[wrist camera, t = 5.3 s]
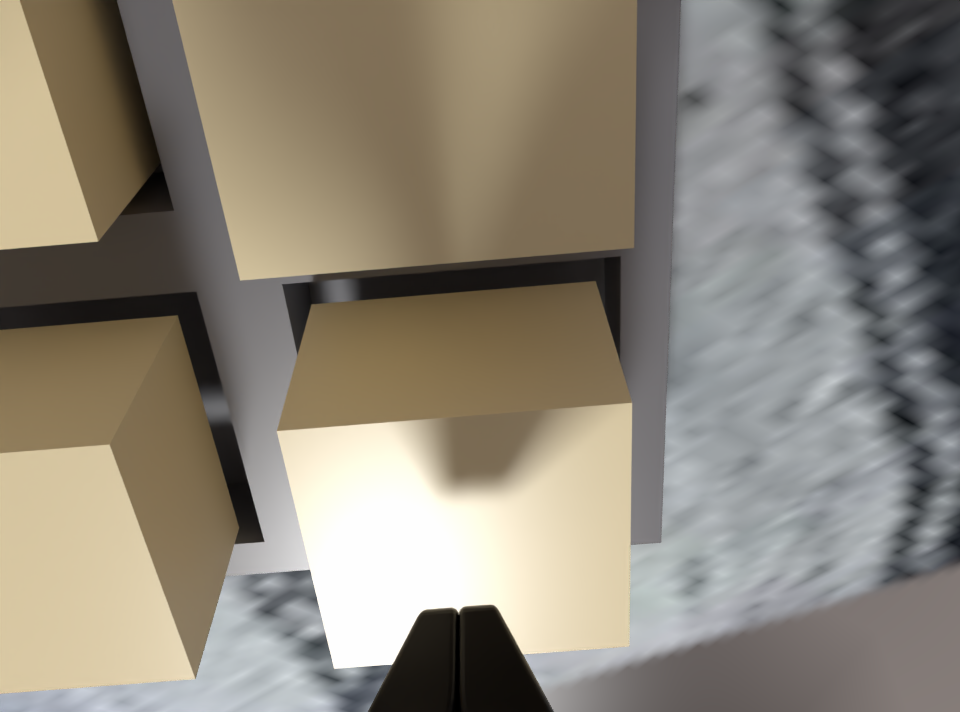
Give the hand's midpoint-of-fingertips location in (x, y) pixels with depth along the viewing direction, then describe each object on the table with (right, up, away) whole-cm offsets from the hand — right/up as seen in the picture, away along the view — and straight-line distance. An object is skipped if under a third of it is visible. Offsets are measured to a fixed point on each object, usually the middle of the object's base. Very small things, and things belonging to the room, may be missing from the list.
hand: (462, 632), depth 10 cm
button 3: (0, +7, +1) cm, 7 cm away
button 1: (0, +2, +4) cm, 4 cm away
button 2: (-6, +2, +4) cm, 7 cm away
